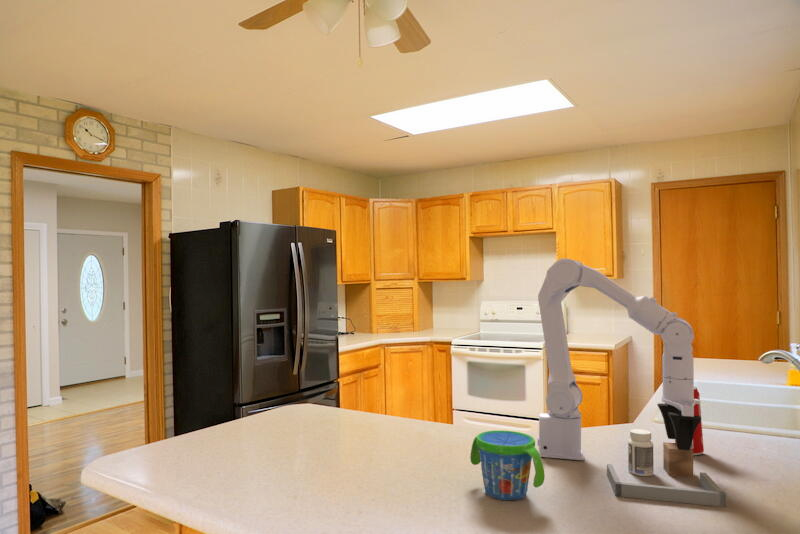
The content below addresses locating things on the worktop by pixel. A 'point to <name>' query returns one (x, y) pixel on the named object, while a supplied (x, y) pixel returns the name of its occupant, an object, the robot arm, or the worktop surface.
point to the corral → (670, 491)
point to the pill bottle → (640, 453)
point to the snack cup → (507, 463)
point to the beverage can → (697, 429)
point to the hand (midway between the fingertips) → (678, 443)
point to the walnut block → (677, 461)
